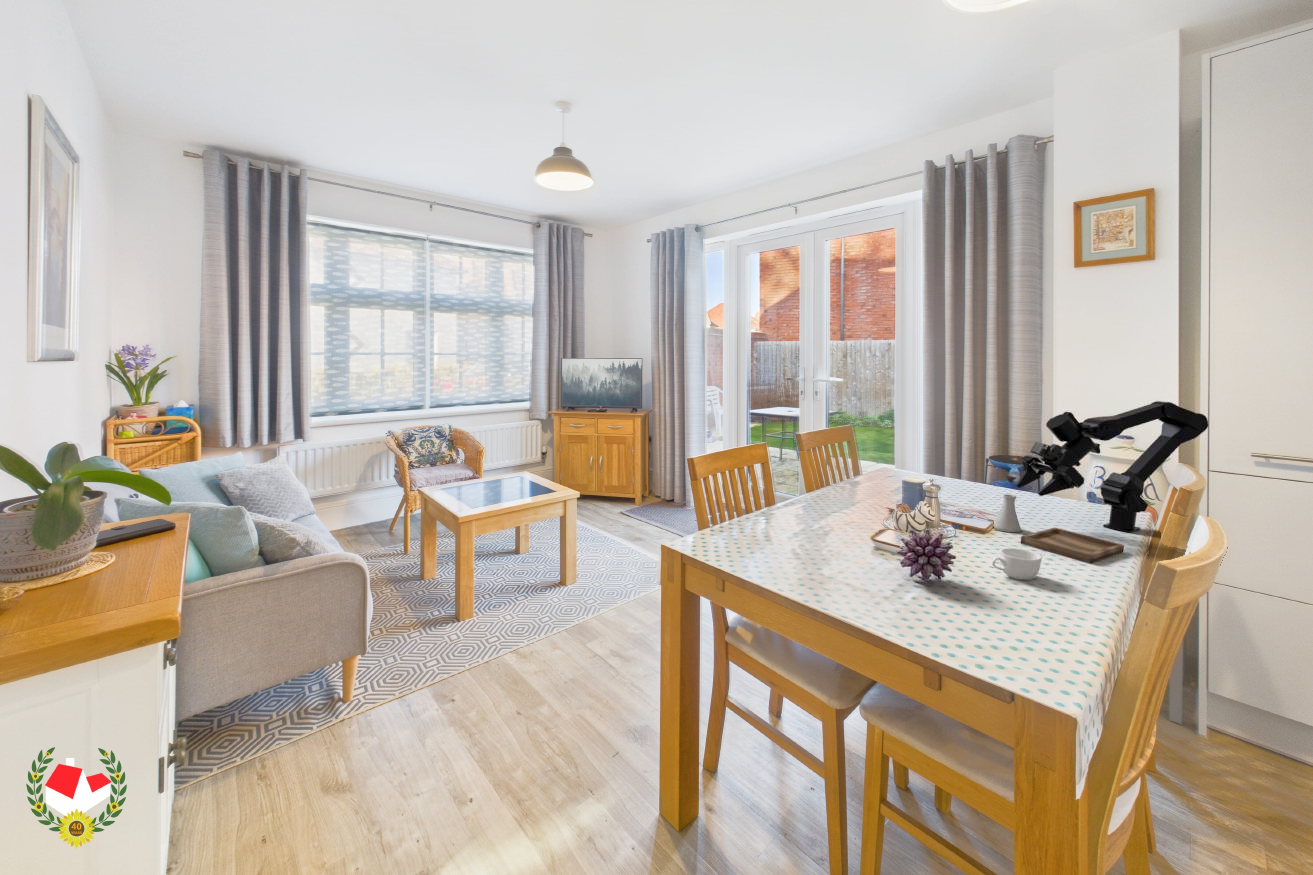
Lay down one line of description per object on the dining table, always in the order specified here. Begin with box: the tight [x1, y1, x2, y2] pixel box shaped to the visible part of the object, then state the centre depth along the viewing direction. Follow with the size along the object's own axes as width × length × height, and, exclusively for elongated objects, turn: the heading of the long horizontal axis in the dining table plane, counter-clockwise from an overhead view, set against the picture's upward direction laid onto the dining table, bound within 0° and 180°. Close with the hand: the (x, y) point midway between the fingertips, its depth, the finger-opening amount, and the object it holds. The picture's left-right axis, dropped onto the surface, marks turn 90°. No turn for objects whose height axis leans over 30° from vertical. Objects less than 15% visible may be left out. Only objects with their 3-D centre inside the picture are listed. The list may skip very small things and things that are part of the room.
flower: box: [896, 527, 957, 582], centre depth 121 cm, size 12×12×12 cm
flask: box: [993, 493, 1022, 533], centre depth 156 cm, size 7×7×10 cm
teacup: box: [991, 547, 1043, 581], centre depth 123 cm, size 10×8×5 cm
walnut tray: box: [1020, 527, 1125, 564], centre depth 141 cm, size 16×16×2 cm
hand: (1027, 490), depth 155 cm, fingers open, 9 cm apart
